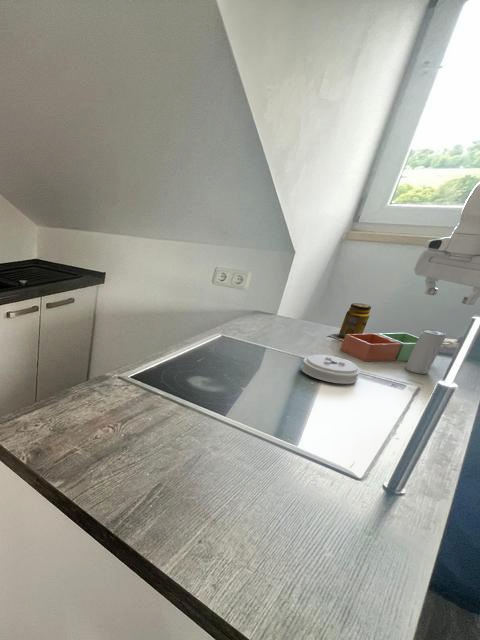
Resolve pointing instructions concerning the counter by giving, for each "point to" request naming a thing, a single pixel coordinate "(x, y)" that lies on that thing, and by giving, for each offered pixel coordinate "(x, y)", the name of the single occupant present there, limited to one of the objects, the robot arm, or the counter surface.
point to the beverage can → (425, 351)
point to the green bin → (402, 344)
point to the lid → (330, 369)
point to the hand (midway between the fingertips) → (448, 299)
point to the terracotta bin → (370, 347)
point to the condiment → (354, 321)
